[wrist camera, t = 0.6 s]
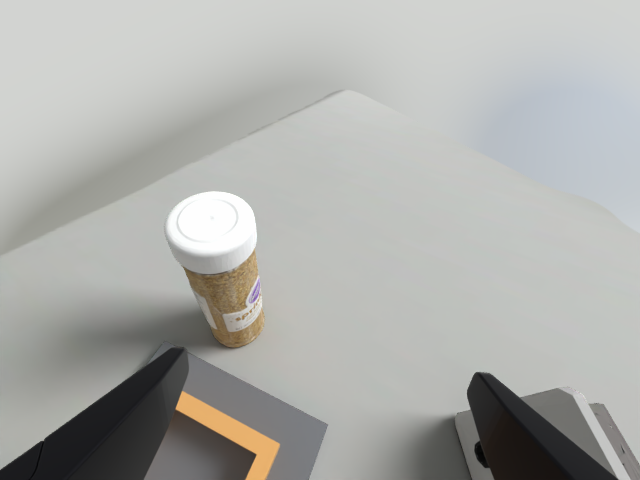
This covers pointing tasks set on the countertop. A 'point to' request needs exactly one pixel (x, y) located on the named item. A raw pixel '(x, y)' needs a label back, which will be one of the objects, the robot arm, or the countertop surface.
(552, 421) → the electrical switch
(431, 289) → the countertop surface
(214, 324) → the sprinkles bottle
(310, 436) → the socket
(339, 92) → the countertop surface
